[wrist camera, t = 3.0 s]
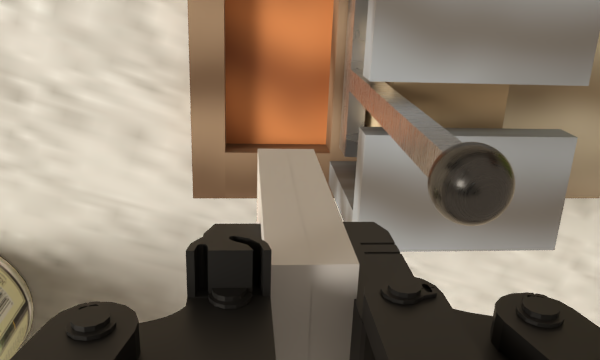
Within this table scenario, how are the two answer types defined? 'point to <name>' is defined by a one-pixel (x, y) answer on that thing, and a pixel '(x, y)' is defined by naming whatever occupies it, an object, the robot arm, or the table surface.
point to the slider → (423, 140)
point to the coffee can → (13, 310)
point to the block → (455, 103)
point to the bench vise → (400, 68)
